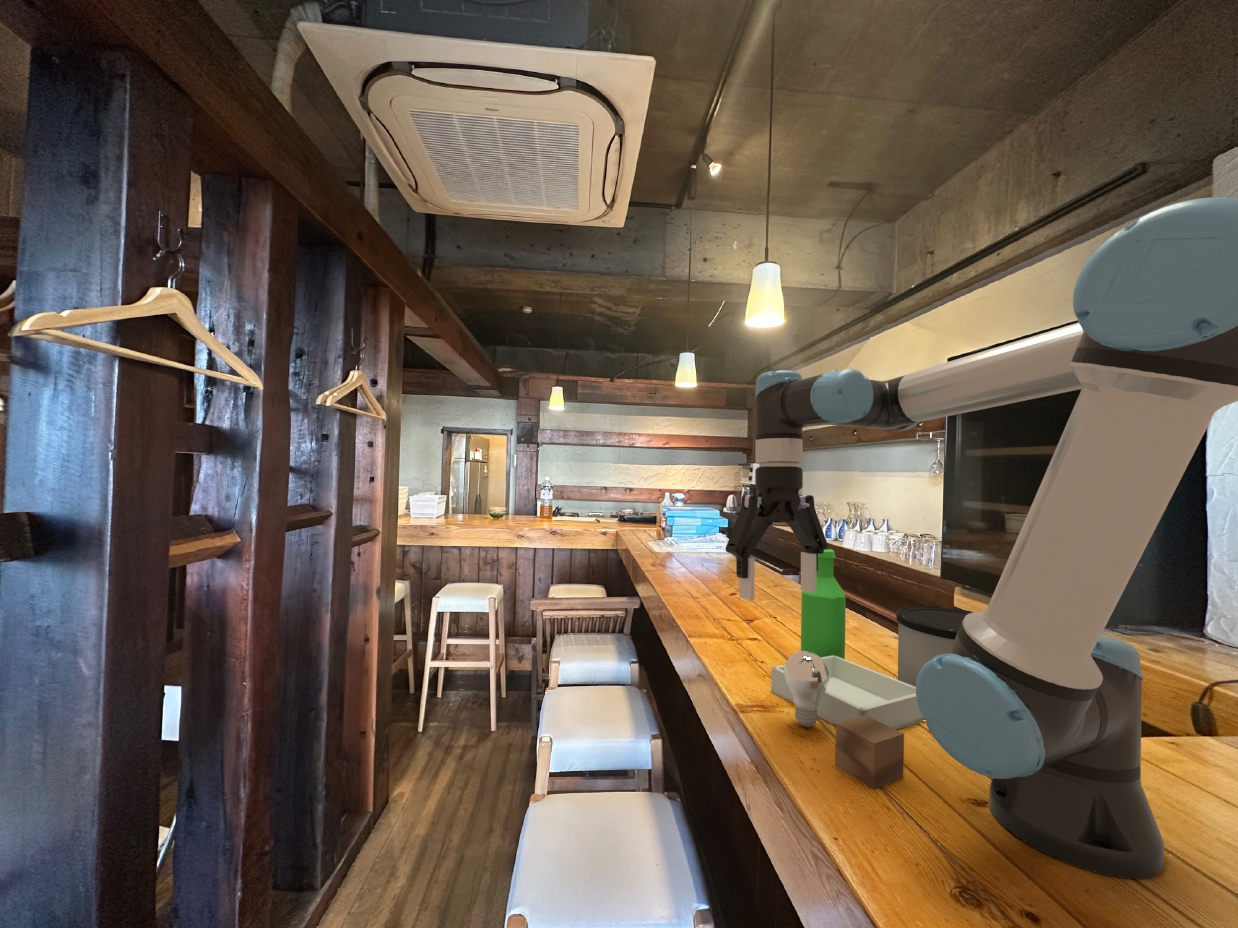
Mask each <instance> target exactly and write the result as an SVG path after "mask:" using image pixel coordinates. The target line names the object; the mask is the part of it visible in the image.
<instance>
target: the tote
mask: <svg viewBox="0 0 1238 928" xmlns="http://www.w3.org/2000/svg"><path fill="white" fill-rule="evenodd" d="M821 658H822V659H823V661H824V662H825V663H826V665H827V667H828V670H829V673H830V681H829V685H828V688H827V689H826V691H825V692H824V694H823V695H822V697H821V699H820V702H819V706H818V708H817V717H818V718H820V719H822V720H824V721H826V722H828V723H829V724H831V725H833V726H835V727H836V723H838V722H842V721H845V720H849V719H852V718H856V717H860V716H863V715H866V716H868V717H870V718H872V719H874V720H876V721H878V722H880V723H883V724H885V725H887V726H889V727H891V728H893V729H895V730H897V731H898V730H900V729H902V728H907V727H909V726H914V725H916V724H919V723H922V721H923V720H925V718H924V716H923V715H922V714H921V712H920V710H919V707H918V703H917V698H916V687H915V686H912V685H909V684H907V683H904V682H902V681H899V680H898V678H897V679H896V678H894V677H891V676H888V675H887V674H883V673H881V672H878V671H876V670H873V669H870V668H868V667H866V666H863V665H859V664H857V663H855V662H853V661H850V660H847V659H846V658H845V659H843V658H840V657H837V656H835V655H832V656H827V657H821ZM784 668H785V664H781V665H776V666H772V667H771V671H770V672H771V673H770V674H771V675H770V676H771V680H770V682H771V683H770V684H771V685H770V692H771V693H774V695H778V696H779V697H780V698H782V699H785V700H786V701H789V702H790V703H792V704H794V705H795V703H794V699H793V694H792V692H791V690H790V688H789V686H788V684H787V682H786V680H785V675H784ZM923 722H924V721H923ZM915 723H916V724H915Z"/></svg>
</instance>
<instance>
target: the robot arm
mask: <svg viewBox="0 0 1238 928" xmlns="http://www.w3.org/2000/svg"><path fill="white" fill-rule="evenodd" d="M1073 288H1074V289H1073V293H1072V294H1073V295H1072V308H1073V312H1074V315H1075V317H1076V318H1077V319H1076V320H1077V322H1076V323H1073V324H1069V325H1065V326H1063V327H1060V328H1057V329H1053V330H1049V331H1047V332H1042V333H1039V334H1036V335H1032V336H1030V337H1027V338H1023V339H1019V340H1016V341H1013V342H1009V343H1006V344H1003V345H1000V346H997V347H996V346H995V347H993V348H990V349H986V350H983V351H980V352H977V353H973V354H970V355H967V356H963V357H960V358H957V359H953V360H951V361H947V362H943V363H939V364H937V365H933V366H929V367H927V368H924V369H921V370H917V371H913V372H910V373H907V374H905V375H902V376H901V375H900V376H897V377H895V378H891V379H887V380H877V379H869V378H868V376H865V375H864V374H863V372H861V370H859V369H854V368H846V369H842V370H841V369H840V370H839V369H836V370H835V369H834V370H830V371H828V372H827V371H826V372H824V373H822V374H818V375H813V376H811V377H806V378H803V376H802V374H801V373H800V372H798V371H796V370H787V369H786V370H785V369H784V370H782V369H780V370H776V371H775V370H774V371H767V372H763V373H761V374H760V375H759V376H758V377H757V379H756V382H755V383H756V384H755V395H754V396H755V397H754V399H753V400H754V404H755V405H754V407H755V408H754V409H755V410H754V412H755V413H754V414H755V415H754V416H755V423H754V424H755V425H754V426H755V464H757V465H759V466H758V467H756V469H755V470H754V471H755V472H754V474H755V475H754V477H755V481H754V483H755V484H754V485H755V488H756V489H757V490H758V493H757V494H743V495H742V496H741V502H740V503H741V504H740V510H739V513H738V515H737V517H736V520H735V523H734V525H733V528H732V531H731V533H730V536H729V537H728V541H727V543H726V545H725V551H726V553H728V554H731V555H732V556H734V557H735V558H736V561H735V562H736V566H735V567H736V572H735V573H736V577H737V578H739V579H738V580H739V581H738V594H739V595H738V597H739V598H741V599H745V600H748V601H755V558H754V557H751V555H752V553H753V552H754V551H755V549H756V548H757V545H758V544H759V543H760V541H761V539H762V537H763V536H764V534H765V533H766V531H767V530H768V529H769V527H770V526H771V525H773V523H776V524H777V523H786V524H787V525H788V526H789V528H790V529H791V531H792V532H793V535H795V537H796V539H797V540H798V542H799V544H800V545H801V547H802V548H803V549H804V550H803V551H800V591H801V592H802V591H806V592H810V593H816V572H817V571H818V553H819V554H822V553H823V552H824V549H828V545H829V544H828V542H827V539H826V536H825V533H824V530H823V527H822V525H821V522H820V519H819V516H818V513H817V510H816V507H815V498H814V496H813V495H812V494H811V495H810V494H799V493H800V492H799V491H800V490H802V489H803V487H804V482H803V481H804V480H803V477H804V476H803V475H804V474H803V472H804V471H803V469H802V467H800V465H802V463H804V461H803V460H804V459H803V458H804V457H803V455H804V454H803V453H804V451H803V450H804V448H803V447H804V445H803V443H804V442H803V428H808V427H817V426H838V427H853V428H865V429H874V430H875V429H876V430H881V431H887V432H896V431H907V430H911V429H913V428H914V427H916V426H917V425H918V424H920V423H921V422H926V421H931V420H936V419H940V418H944V417H945V418H946V417H949V416H956V415H960V414H964V413H969V412H975V411H980V410H985V409H990V408H994V407H1000V406H1005V405H1009V404H1010V405H1011V404H1014V403H1018V402H1024V401H1028V400H1034V399H1038V398H1044V397H1048V396H1055V395H1058V394H1059V395H1060V394H1062V393H1068V392H1072V391H1078V390H1080V393H1079V395H1078V397H1077V399H1076V401H1075V404H1074V406H1073V409H1072V411H1071V412H1070V413H1071V414H1070V415H1069V418H1068V420H1067V422H1066V425H1065V427H1064V430H1063V432H1062V433H1061V436H1060V438H1059V442H1058V443H1057V446H1056V448H1055V450H1054V452H1053V454H1052V457H1051V460H1050V462H1049V465H1048V466H1047V469H1046V471H1045V474H1044V476H1043V478H1042V480H1041V483H1040V485H1039V488H1038V489H1037V492H1036V494H1035V497H1034V499H1033V501H1032V504H1031V505H1030V508H1029V511H1028V513H1027V515H1026V517H1025V520H1024V522H1023V524H1022V527H1021V529H1020V531H1019V534H1018V536H1017V538H1016V541H1015V543H1014V545H1013V547H1012V550H1011V552H1010V555H1009V557H1008V559H1007V561H1006V564H1005V566H1004V568H1003V571H1002V573H1001V575H1000V578H999V580H998V583H997V585H996V587H995V590H994V592H993V594H992V596H991V599H990V601H989V603H988V605H987V608H986V609H984V610H979V611H972V612H973V613H970V614H968V615H966V616H965V618H964V620H963V621H962V624H961V626H960V628H959V631H958V633H957V635H956V638H955V640H954V643H953V645H952V647H951V650H950V651H949V653H948V654H941V655H938V656H935V657H933V659H932V660H930V661H928V662H927V663H926V664H925V665H924V666H923V667H922V668H921V670H920V671H919V674H918V676H917V681H916V698H917V703H918V707H919V710H920V712H921V714H922V715H923V716H924V718H925V720H926V721H925V726H926V727H927V729H928V731H929V733H930V734H931V735H932V737H933V738H934V740H935V741H936V742H937V743H938V745H939V746H940V747H941V748H942V749H943V750H944V751H945V753H947V754H948V755H950V757H951V758H953V759H954V760H955V761H957V762H958V763H959V764H960V765H962V766H963V767H964V768H966V769H968V770H970V771H973V772H974V773H977V774H979V775H981V776H984V777H987V778H992V779H991V782H990V785H989V807H990V810H991V812H992V814H993V816H994V817H995V818H996V820H997V821H998V822H999V823H1000V824H1002V826H1003V827H1004V828H1005V829H1007V830H1008V831H1009V832H1011V833H1012V834H1013V835H1015V836H1016V837H1017V838H1019V839H1020V840H1021V841H1023V842H1025V843H1026V844H1027V845H1030V846H1032V847H1033V848H1035V849H1037V850H1039V851H1041V852H1042V853H1045V854H1047V856H1048V855H1049V856H1051V857H1053V858H1055V859H1056V860H1059V861H1062V862H1064V863H1065V864H1066V863H1067V864H1069V865H1071V866H1075V867H1077V868H1080V869H1083V870H1085V871H1086V870H1087V871H1089V870H1091V871H1090V872H1093V871H1096V872H1097V873H1098V874H1101V875H1104V876H1105V875H1106V876H1109V877H1115V878H1116V877H1117V878H1122V879H1134V880H1136V879H1137V880H1138V879H1140V880H1141V879H1147V878H1148V879H1149V878H1153V877H1155V876H1158V875H1159V874H1160V873H1161V872H1162V871H1164V867H1165V845H1164V844H1165V843H1164V839H1163V836H1162V835H1161V832H1160V828H1159V826H1158V823H1157V821H1156V818H1155V816H1154V813H1153V810H1152V808H1151V806H1150V803H1149V800H1148V797H1147V796H1146V793H1145V791H1144V788H1143V785H1142V781H1141V780H1142V779H1141V777H1142V775H1141V773H1142V770H1141V768H1142V767H1141V762H1142V687H1143V686H1142V683H1143V682H1142V681H1143V680H1144V679H1145V677H1144V674H1143V673H1142V668H1141V664H1142V663H1141V656H1140V653H1139V651H1138V650H1137V649H1136V647H1135V646H1133V645H1132V644H1130V643H1129V642H1126V641H1125V640H1121V639H1118V638H1115V637H1112V636H1108V635H1104V634H1103V632H1104V630H1105V628H1106V626H1107V625H1108V622H1109V620H1110V618H1111V616H1112V614H1113V612H1114V611H1115V608H1116V607H1117V604H1118V602H1119V601H1120V599H1121V597H1122V595H1123V594H1124V593H1123V592H1124V591H1125V589H1126V587H1127V585H1128V583H1129V581H1130V579H1131V577H1132V575H1133V573H1134V572H1135V570H1136V567H1138V566H1137V565H1138V564H1139V561H1140V560H1141V558H1142V556H1143V554H1144V551H1145V550H1146V548H1147V546H1148V544H1149V542H1150V540H1151V538H1152V536H1153V535H1154V532H1155V530H1156V528H1157V526H1158V524H1159V522H1160V521H1161V519H1162V516H1163V515H1164V512H1165V511H1166V509H1167V507H1168V504H1169V503H1170V501H1171V499H1172V498H1173V495H1174V493H1175V491H1176V489H1177V487H1178V486H1179V484H1180V481H1181V479H1182V478H1183V476H1184V473H1185V472H1186V470H1187V468H1188V465H1189V463H1190V461H1192V458H1193V456H1194V454H1195V452H1196V450H1197V448H1198V446H1199V444H1200V442H1201V440H1202V438H1203V436H1204V435H1205V432H1206V431H1207V428H1208V427H1209V425H1210V422H1211V421H1212V419H1213V416H1214V415H1215V413H1216V412H1217V411H1218V410H1221V409H1222V408H1224V407H1226V406H1229V405H1231V404H1233V403H1236V402H1238V198H1236V197H1235V198H1234V197H1225V196H1223V197H1220V196H1215V197H1204V198H1203V197H1202V198H1195V199H1190V200H1184V201H1180V202H1178V203H1177V202H1176V203H1173V204H1169V205H1166V206H1164V207H1163V206H1162V207H1161V208H1159V209H1156V210H1153V211H1152V212H1149V213H1147V214H1145V215H1142V216H1141V217H1139V218H1138V219H1136V220H1134V221H1133V222H1131V223H1130V224H1128V225H1127V226H1125V227H1124V228H1121V229H1119V230H1118V231H1116V232H1115V233H1113V235H1111V236H1110V237H1109V238H1107V239H1106V240H1105V241H1104V242H1103V243H1102V244H1101V245H1100V246H1099V247H1098V248H1097V249H1096V250H1095V251H1094V253H1093V254H1091V256H1090V257H1089V259H1088V260H1087V262H1085V264H1084V266H1083V268H1082V269H1081V271H1080V272H1079V274H1078V277H1077V279H1076V282H1075V285H1074V287H1073ZM804 551H805V552H804ZM1096 872H1095V873H1096ZM1152 876H1153V877H1152Z"/></svg>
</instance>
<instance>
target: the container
mask: <svg viewBox="0 0 1238 928" xmlns="http://www.w3.org/2000/svg"><path fill="white" fill-rule="evenodd" d="M973 612H974V611H971V610H964V609H959V608H951V607H943V606H941V607H940V606H929V605H928V606H925V605H923V606H922V605H921V606H906V607H902V608H899V609H897V610H896V614H895V615H896V618H895V619H896V622H897V623H898V625H897V626H898V630H897V631H898V637H897V639H898V641H897V643H898V644H897V645H898V646H897V680H899V681H902V682H904V683H907V684H909V685H912V686H915V687H916V681H917V676H918V674H919V671H920V670H921V668H922V667H923V666H924V665H925V664H926V663H927V662H928V661H930V660H932V659H933V657H935V656H938V655H941V654H948V653H949V651H950V650H951V647H952V645H953V643H954V640H955V638H956V635H957V633H958V631H959V628H960V626H961V624H962V621H963V620H964V618H965V616H966V615H968V614H970V613H973Z"/></svg>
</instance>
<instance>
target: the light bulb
mask: <svg viewBox="0 0 1238 928" xmlns="http://www.w3.org/2000/svg"><path fill="white" fill-rule="evenodd" d="M784 665H785V668H784V675H785V680H786V682H787V684H788V686H789V688H790V690H791V692H792V694H793V699H794V703H795V704H794V703H793V704H794V705H795V709H794V710H795V712H794V714H795V715H794V719H795V720H796V721H797V722H798V724H799V725H801V727H802V728H804V729H810V728H811V727H813V726H814V725H815V724H816V722H817V721H818V718H817V717H818V716H817V708H818V706H819V702H820V699H821V697H822V695H823V694H824V692H825V691H826V689H827V688H828V685H829V681H830V673H829V670H828V667H827V665H826V663H825V662H824V661H823V659H822V658H821V657H819V656H818V655H817V654H815V653H813V652H810V651H801V650H799V651H797V652H794V653H793V654H791V655H790V656H789V657H788V659H787V660H786V662H785V663H784Z"/></svg>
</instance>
